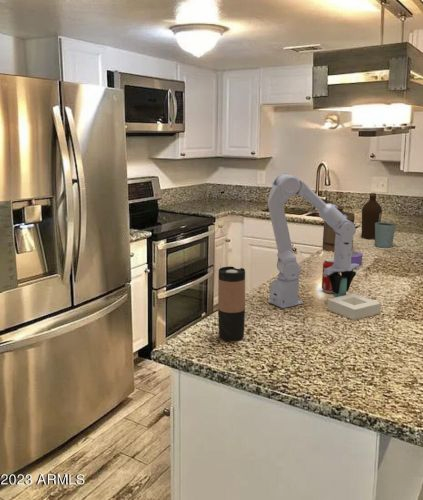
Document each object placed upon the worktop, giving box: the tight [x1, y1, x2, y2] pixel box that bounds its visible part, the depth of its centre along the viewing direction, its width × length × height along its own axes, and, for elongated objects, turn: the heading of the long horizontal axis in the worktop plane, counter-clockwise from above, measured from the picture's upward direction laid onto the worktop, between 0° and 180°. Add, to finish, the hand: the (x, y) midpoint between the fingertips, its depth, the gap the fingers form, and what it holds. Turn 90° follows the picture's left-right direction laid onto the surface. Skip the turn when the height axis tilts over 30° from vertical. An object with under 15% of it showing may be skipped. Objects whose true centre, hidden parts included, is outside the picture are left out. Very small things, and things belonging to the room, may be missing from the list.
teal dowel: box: [333, 277, 347, 298], centre depth 175 cm, size 4×4×7 cm
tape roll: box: [351, 250, 363, 267], centre depth 226 cm, size 12×12×5 cm
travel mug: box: [217, 265, 246, 342], centre depth 143 cm, size 8×8×20 cm
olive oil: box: [360, 192, 383, 240], centre depth 280 cm, size 11×11×25 cm
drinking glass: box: [374, 221, 397, 249], centre depth 260 cm, size 10×10×12 cm
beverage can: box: [321, 257, 341, 294], centre depth 186 cm, size 6×6×12 cm
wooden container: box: [322, 205, 356, 253], centre depth 253 cm, size 15×15×22 cm
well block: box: [326, 293, 382, 321], centre depth 165 cm, size 12×12×4 cm
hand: (340, 291), depth 175 cm, fingers closed on teal dowel, 4 cm apart
